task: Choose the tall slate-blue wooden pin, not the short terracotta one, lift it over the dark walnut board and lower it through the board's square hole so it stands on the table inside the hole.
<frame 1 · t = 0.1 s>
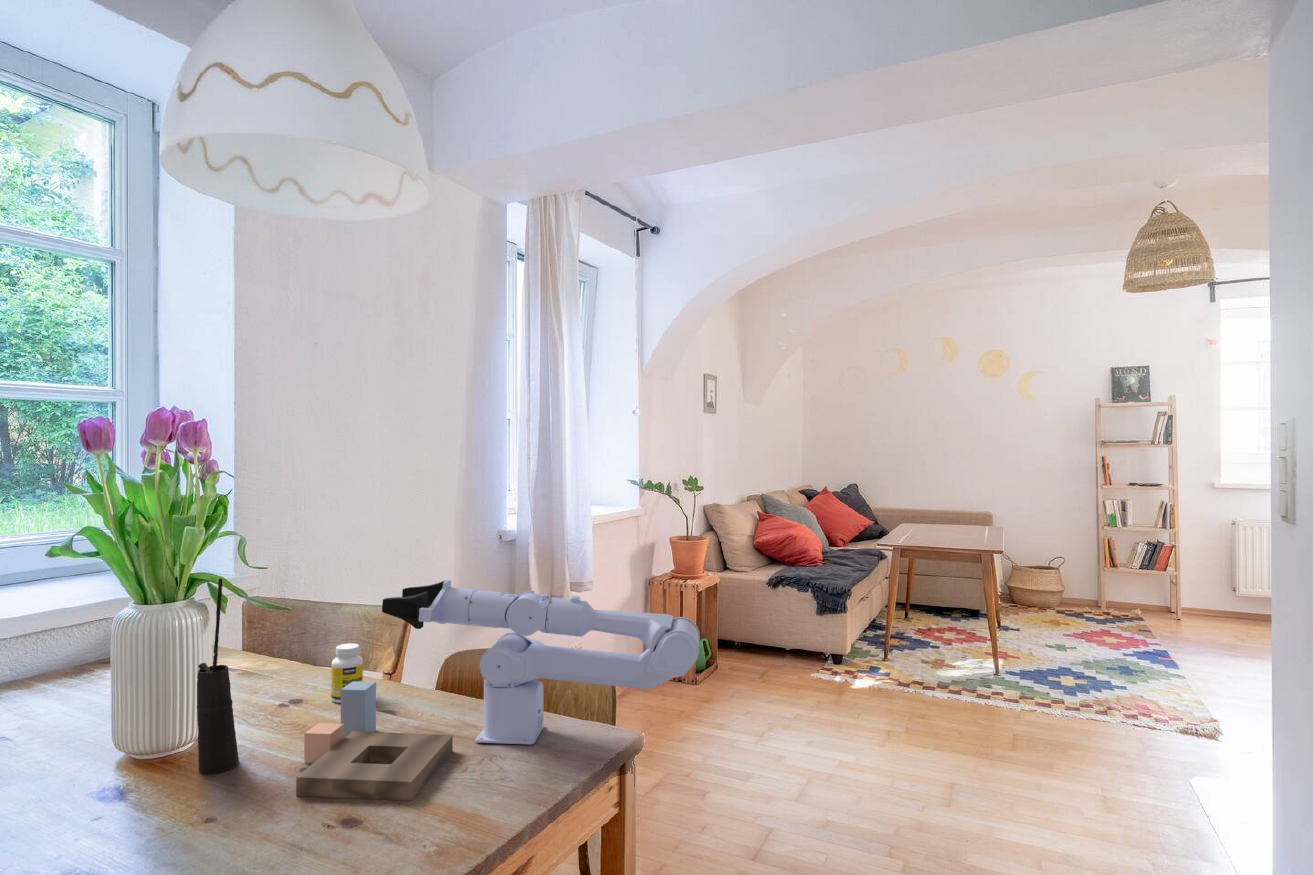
hand: (393, 599, 125), 22 cm above the table, tool horizontal, fingers open, 7 cm apart
hole board: (379, 771, 109), on the table
tall pin: (358, 734, 123), on the table
butter churn: (212, 766, 111), on the table
supplement bottle: (347, 699, 140), on the table
short pin: (324, 758, 114), on the table
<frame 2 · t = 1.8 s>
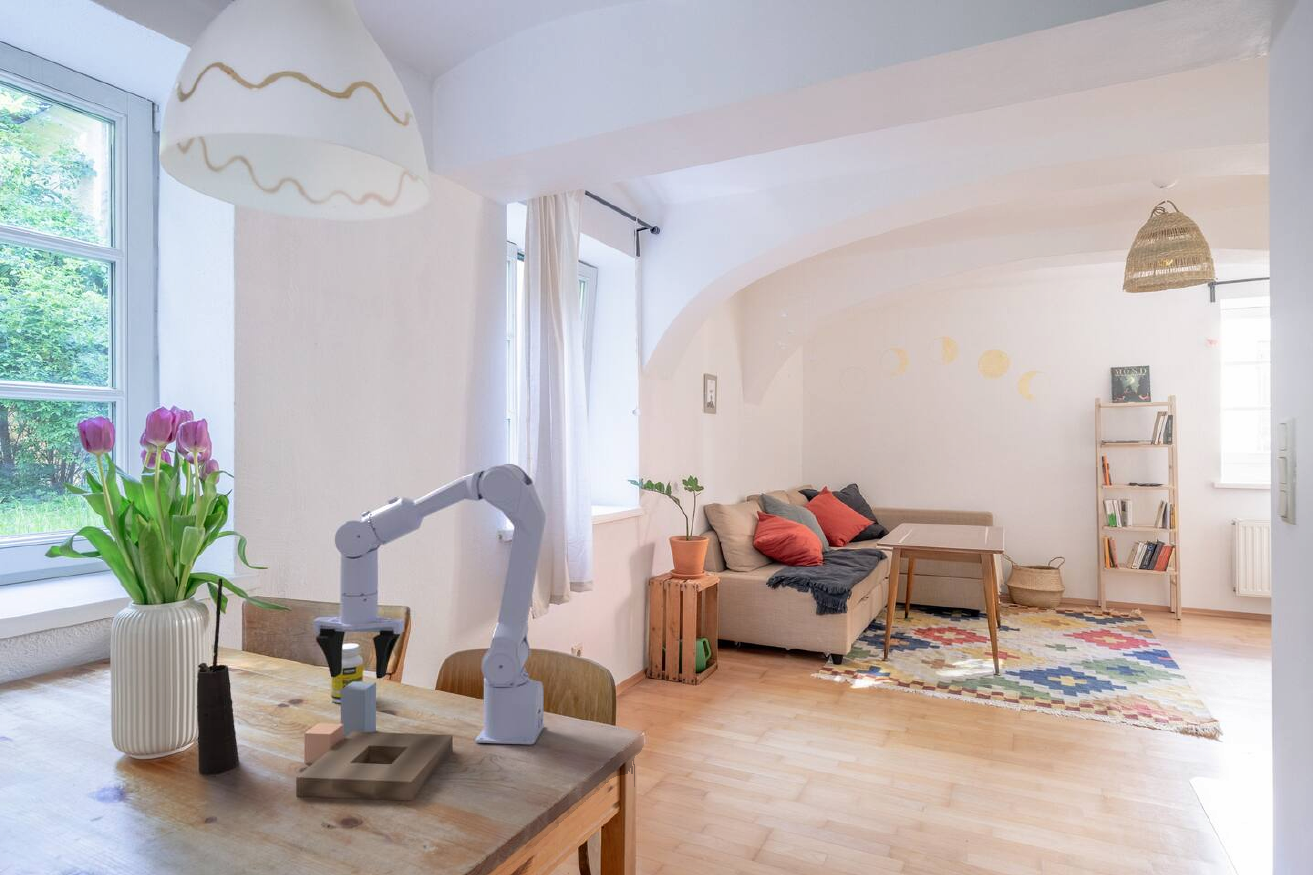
hand: (358, 676, 123), 10 cm above the table, tool pointing down, fingers open, 7 cm apart
nothing on the table moved.
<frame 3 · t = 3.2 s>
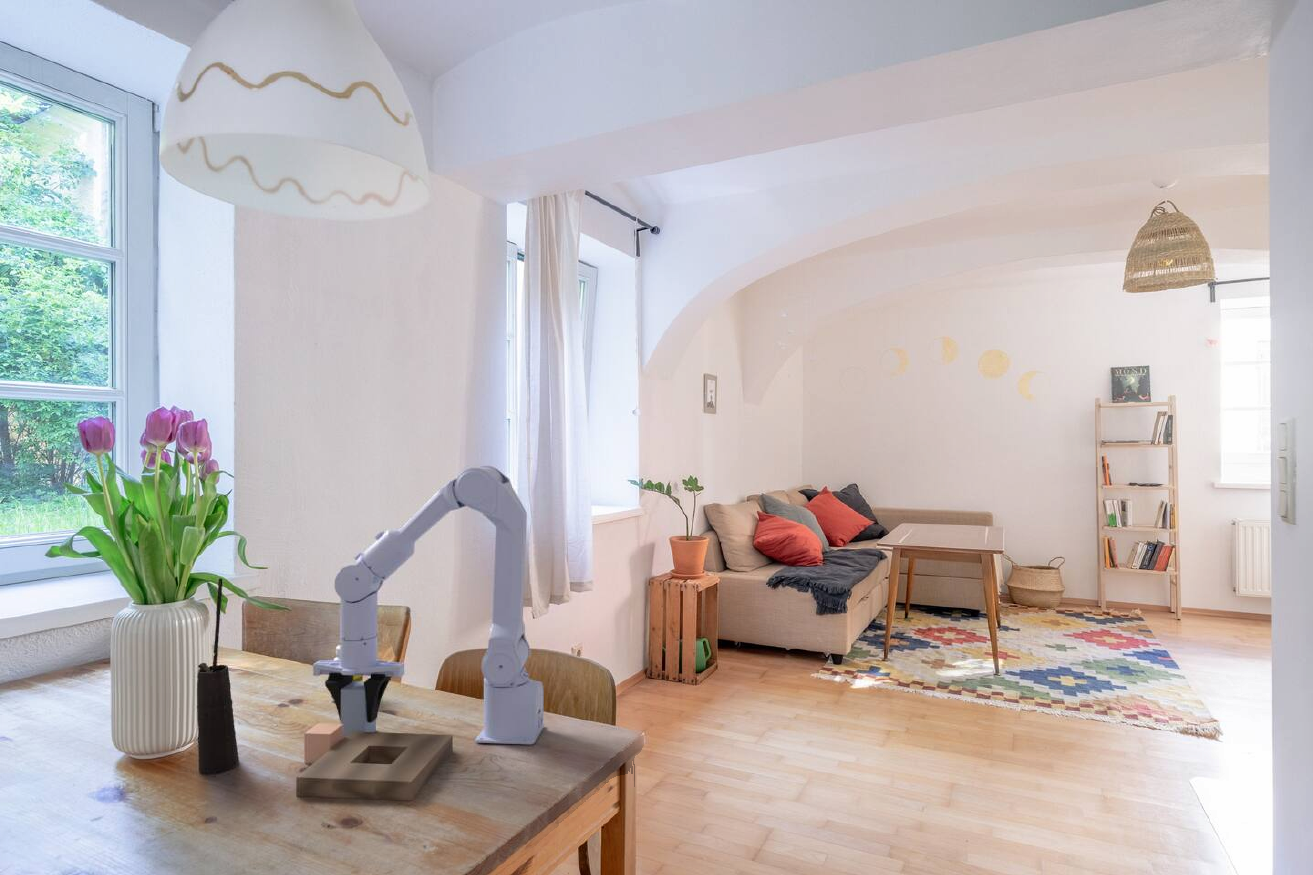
hand: (358, 719, 123), 2 cm above the table, tool pointing down, fingers closed on tall pin, 4 cm apart
tall pin: (358, 734, 123), on the table, touching gripper
everything else where it was.
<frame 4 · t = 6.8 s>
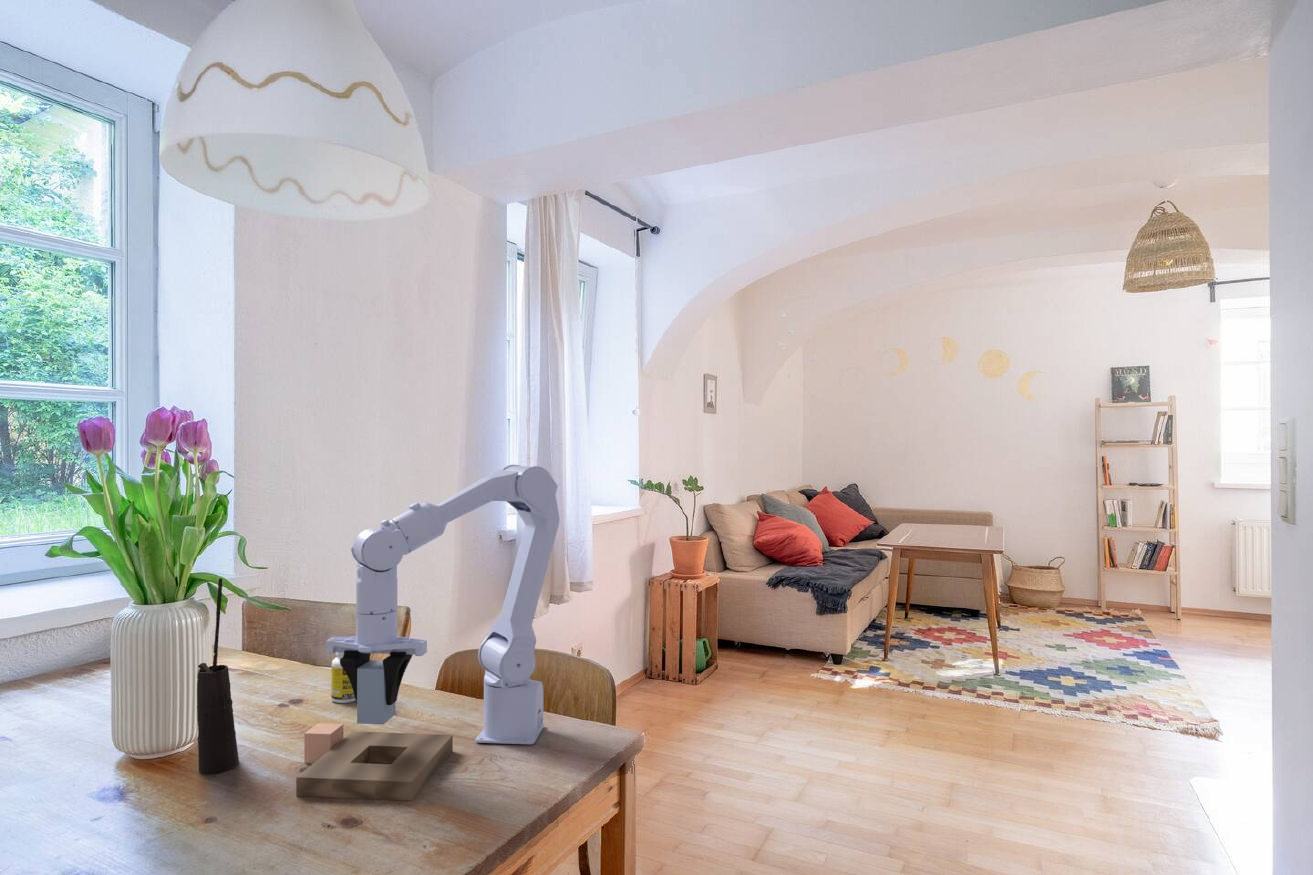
hand: (376, 702, 111), 9 cm above the table, tool pointing down, fingers closed on tall pin, 4 cm apart
tall pin: (376, 718, 111), point 7 cm above the table, touching gripper
everything else where it was.
when the fingers open (3 cm above the table, at t = 10.3 s): tall pin drops 1 cm, resting in hole board.
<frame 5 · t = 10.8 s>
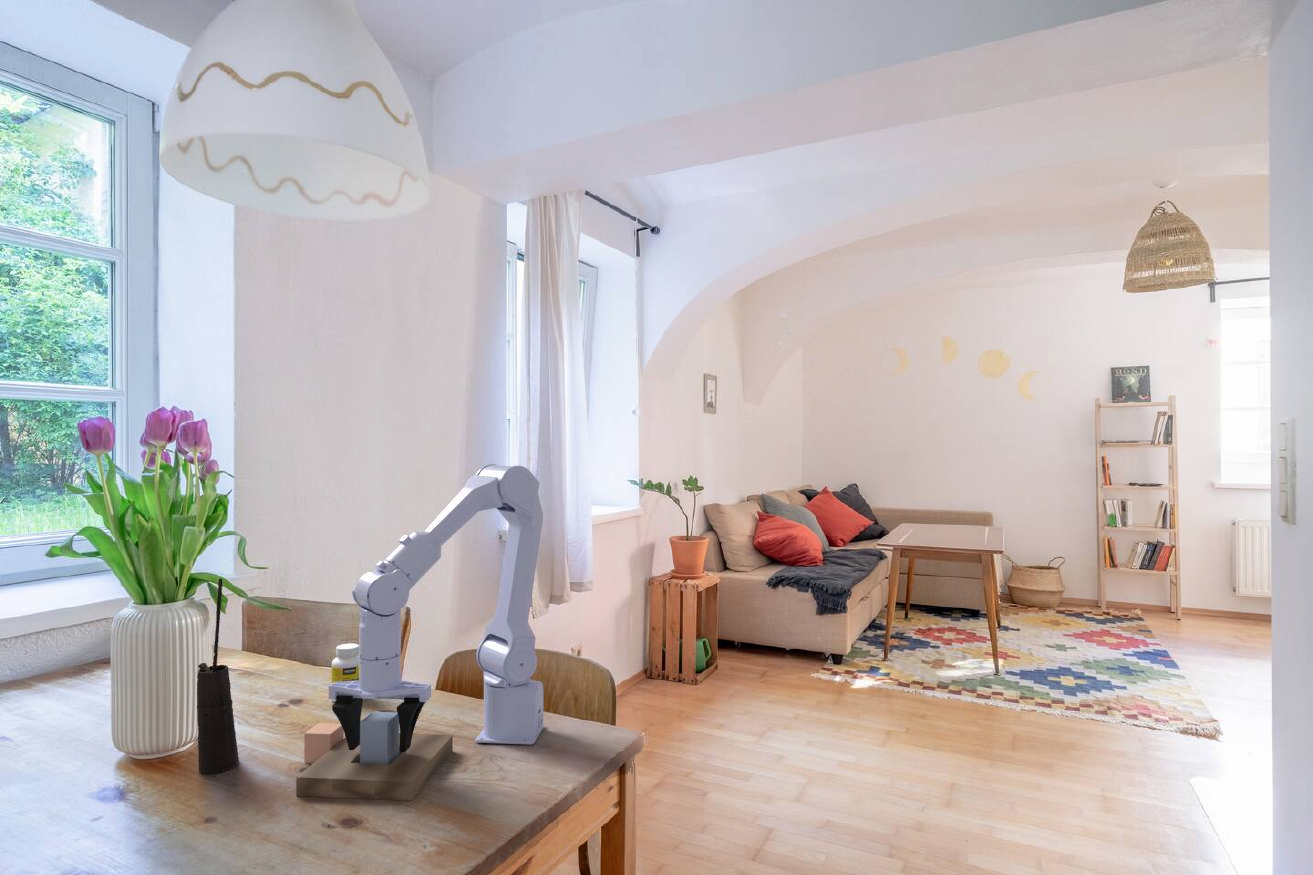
hand: (379, 748, 109), 3 cm above the table, tool pointing down, fingers open, 7 cm apart
tall pin: (379, 772, 109), resting in hole board
everything else where it was.
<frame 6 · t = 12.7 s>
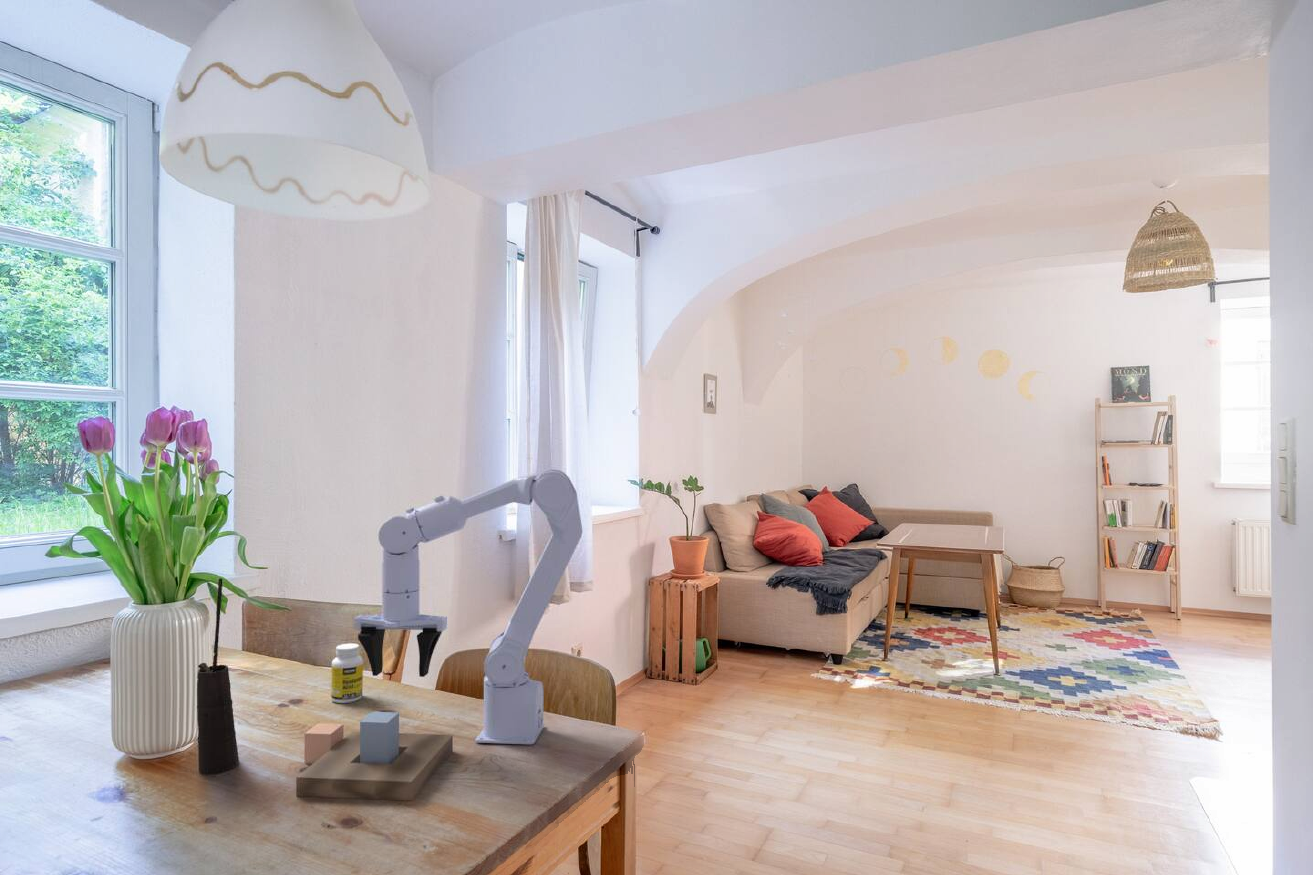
hand: (400, 674, 121), 10 cm above the table, tool pointing down, fingers open, 7 cm apart
nothing on the table moved.
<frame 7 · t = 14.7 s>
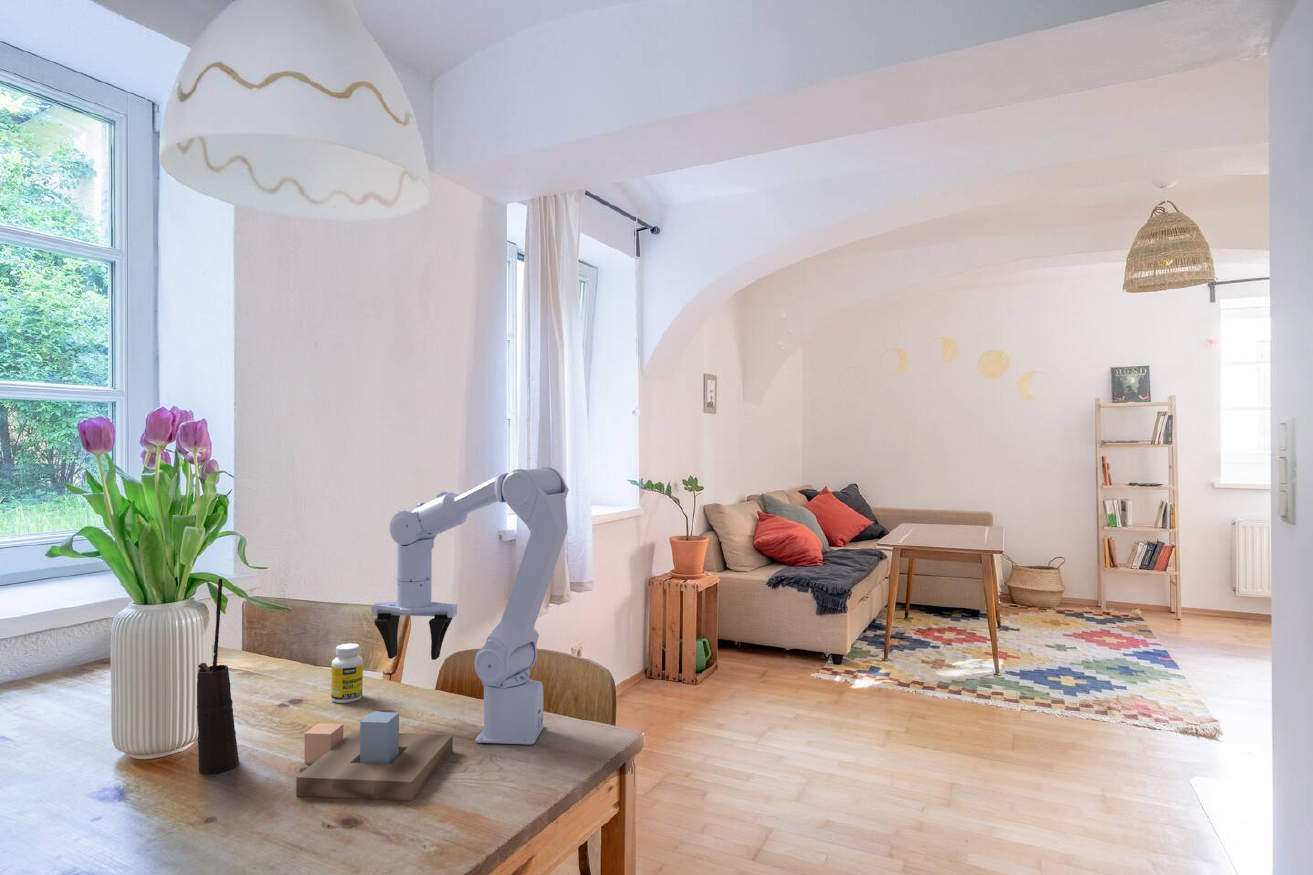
hand: (414, 657, 131), 10 cm above the table, tool pointing down, fingers open, 7 cm apart
nothing on the table moved.
at the end: tall pin 0.0 cm off-centre on the hole board, point 0.0 cm above the hole board's base; tall pin tilted 0°; the gripper is holding nothing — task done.
